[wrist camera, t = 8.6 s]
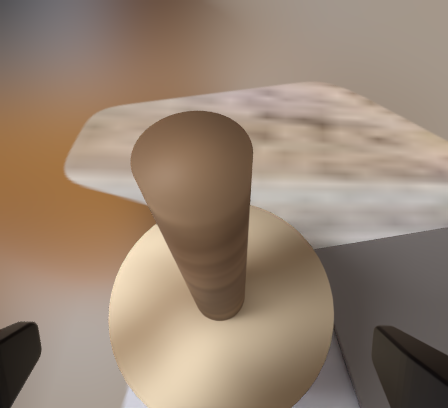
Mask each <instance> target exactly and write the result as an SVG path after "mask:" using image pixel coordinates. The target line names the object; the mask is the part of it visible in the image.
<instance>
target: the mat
mask: <svg viewBox="0 0 448 408" xmlns="http://www.w3.org/2000/svg"><path fill="white" fill-rule="evenodd" d="M314 251H315V253H316V254H317V256H318V257H319V259H320V261H321V263H322V265H323V267H324V269H325V272H326V275H327V278H328V280H329V283H330V288H331V292H332V297H333V307H334V325H333V327H334V330H335V333H336V336H337V339H338V342H339V345H340V348H341V351H342V354H343V357H344V360H345V363H346V366H347V369H348V372H349V375H350V378H351V381H352V384H353V387H354V390H355V393H356V396H357V399H358V402H359V405H360V408H390V405H389V403H388V400H387V398H386V395H385V393H384V390H383V388H382V385H381V383H380V380H379V378H378V375H377V373H376V370H375V367H374V365H373V362H372V357H371V351H372V341H373V331H374V328H375V327H376V326H377V325H391V326H394V327H396V328H398V329H400V330H402V331H403V332H405V333H407V334H409V335H411V336H413V337H415V338H416V339H418V340H420V341H422V342H424V343H426V344H428V345H430V346H431V347H433V348H435V349H437V350H439V351H441V352H443V353H445V354H446V355H448V227H447V228H441V229H435V230H429V231H423V232H417V233H411V234H405V235H399V236H393V237H387V238H381V239H375V240H369V241H363V242H357V243H351V244H345V245H339V246H333V247H327V248H321V249H315V250H314Z"/></svg>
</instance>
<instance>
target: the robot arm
mask: <svg viewBox="0 0 448 408" xmlns="http://www.w3.org/2000/svg"><path fill="white" fill-rule="evenodd" d="M40 355H41V342H40V336H39V330H38V325H37V324H36V323H35V322H17V323H15V324H12V325H10V326H7V327H6V328H3V329H0V408H11V406H12V405H13V403H14V401H15V399H16V398H17V396H18V394H19V392H20V391H21V389H22V387H23V385H24V384H25V382H26V380H27V379H28V377H29V375H30V373H31V372H32V370H33V368H34V366H35V365H36V363H37V361H38V359H39V357H40ZM371 357H372V362H373V365H374V367H375V370H376V373H377V375H378V378H379V380H380V383H381V385H382V388H383V390H384V393H385V395H386V398H387V400H388V403H389V405H390V408H448V355H446V354H445V353H443V352H441V351H439V350H437V349H435V348H433V347H431V346H430V345H428V344H426V343H424V342H422V341H420V340H418V339H416V338H415V337H413V336H411V335H409V334H407V333H405V332H403V331H402V330H400V329H398V328H396V327H394V326H391V325H377V326H376V327H375V328H374V331H373V341H372V351H371Z"/></svg>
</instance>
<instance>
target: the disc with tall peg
mask: <svg viewBox="0 0 448 408" xmlns="http://www.w3.org/2000/svg"><path fill="white" fill-rule="evenodd" d="M252 162H253V147H252V143H251V140H250V138H249V136H248V134H247V133H246V131H245V130H244V129H243V128H242V127H241V126H240V125H239V124H238V123H236V122H235V121H233V120H232V119H230V118H228V117H226V116H224V115H221V114H218V113H213V112H207V111H188V112H182V113H177V114H174V115H171V116H168V117H166V118H163V119H161V120H159V121H158V122H156V123H154V124H153V125H152V126H150V127H149V128H148V129H147V130H145V131H144V133H143V134H142V135H141V136H140V137H139V139H138V140H137V142H136V144H135V145H134V148H133V151H132V154H131V170H132V173H133V176H134V178H135V180H136V182H137V184H138V186H139V188H140V190H141V192H142V194H143V196H144V199H145V201H146V203H147V205H148V207H149V209H150V211H151V213H152V215H153V217H154V219H155V221H156V223H157V224H156V225H154V226H153V227H152V228H151V229H150V230H149V231H147V232H146V233H145V234H144V235H143V236H142V237H141V238H140V239H139V240H138V242H137V243H136V244H135V245H134V247H133V248H132V249H131V251H130V252H129V253H128V255H127V257H126V259H125V260H124V262H123V264H122V265H121V268H120V270H119V272H118V274H117V277H116V279H115V283H114V286H113V290H112V293H111V300H110V305H109V334H110V341H111V345H112V350H113V354H114V356H115V359H116V362H117V364H118V367H119V369H120V371H121V373H122V375H123V377H124V379H125V380H126V382H127V384H128V385H129V386H130V388H131V389H132V390H133V392H134V393H135V394H136V396H137V397H138V398H139V399H140V400H141V401H142V402H143V403H144V404H145V405H146V406H147V407H148V408H291V407H292V406H293V405H295V404H296V403H297V402H298V401H299V400H300V399H301V398H302V396H303V395H304V394H305V393H306V392H307V391H308V390H309V388H310V387H311V385H312V384H313V382H314V381H315V380H316V378H317V377H318V375H319V373H320V371H321V369H322V367H323V365H324V362H325V360H326V357H327V354H328V351H329V348H330V345H331V339H332V334H333V325H334V307H333V297H332V292H331V288H330V283H329V280H328V278H327V275H326V272H325V269H324V267H323V265H322V263H321V261H320V259H319V257H318V256H317V254H316V253H315V251H314V250H313V248H312V247H311V245H310V244H309V243H308V242H307V241H306V239H305V238H304V237H303V236H302V235H301V234H300V233H299V232H298V231H297V230H296V229H295V228H294V227H292V226H291V225H290V224H288V223H287V222H286V221H284V220H283V219H281V218H280V217H278V216H276V215H274V214H272V213H271V212H268V211H266V210H263V209H261V208H258V207H255V206H251V205H250V196H251V179H252Z"/></svg>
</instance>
